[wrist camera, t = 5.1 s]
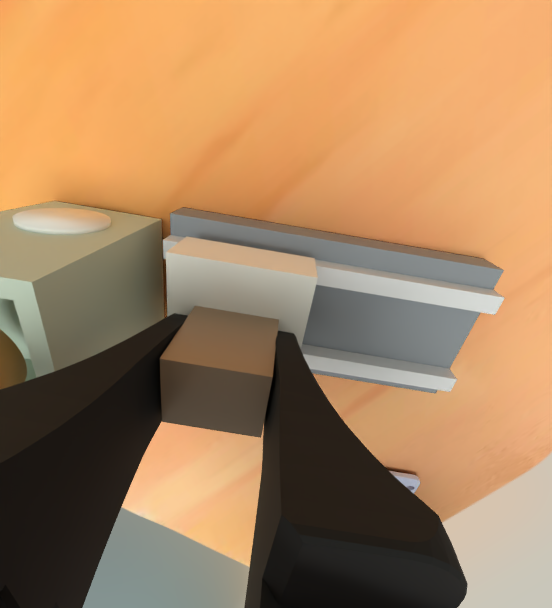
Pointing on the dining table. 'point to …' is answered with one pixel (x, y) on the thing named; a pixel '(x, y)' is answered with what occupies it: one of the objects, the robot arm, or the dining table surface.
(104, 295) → the cabinet
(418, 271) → the rail track
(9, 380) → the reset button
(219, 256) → the carriage
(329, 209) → the dining table surface
